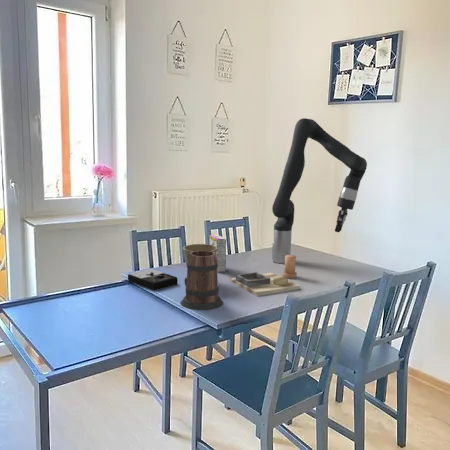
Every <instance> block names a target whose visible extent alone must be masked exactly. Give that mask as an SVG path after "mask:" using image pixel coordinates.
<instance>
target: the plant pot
mask: <svg viewBox="0 0 450 450" xmlns="http://www.w3.org/2000/svg"><path fill="white" fill-rule="evenodd" d="M182 249H183V256H184V262H185V266H186V267H187V262H188V254H189V253H191V252H193V251H213V252H215V253H216V252H217V247H216V246H213V245H209V244H207V243H194V244H193V243H192V244H188V245H184V246H183V248H182Z"/></svg>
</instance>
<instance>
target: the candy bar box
mask: <svg viewBox="0 0 450 450" xmlns="http://www.w3.org/2000/svg"><path fill="white" fill-rule="evenodd" d="M208 242H209V244H208V245H213V246H216V247H217V252H216V260H217V263H218V268H217V273H223V272H224V273H225V272H226V271H227V270H226V267H227V259H226V258H227V239H226V238H224V237H223V236H221V235H220V234H209V241H208Z"/></svg>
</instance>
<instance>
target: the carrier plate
mask: <svg viewBox="0 0 450 450" xmlns="http://www.w3.org/2000/svg"><path fill="white" fill-rule="evenodd" d="M230 282H231V283H233V284H234V285H236V286H238V287H240V288H241V289H244V290H245V291H247V292H249V293H251V294H253V295H254V296H256V297H259V296H265V295H271V294H276V293H283V292H290V291H294V290H295V291H296V290H301V285H299V284H297V283H296V282H293V281H290V279H288V278H287V277H285V276H283V275H277V274H275V273H273V272H268V273H260V272H257V271H255V272H248V273H240V274H239V273H238V274H235V277H231V278H230Z"/></svg>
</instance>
